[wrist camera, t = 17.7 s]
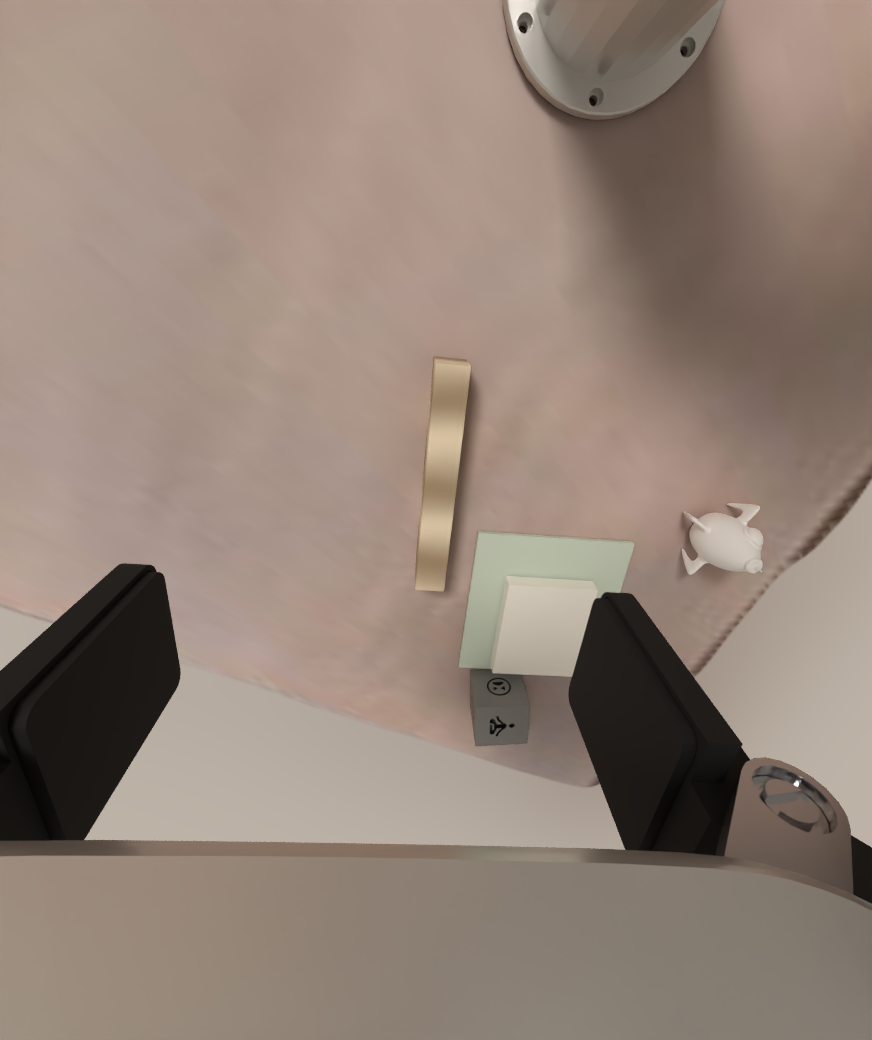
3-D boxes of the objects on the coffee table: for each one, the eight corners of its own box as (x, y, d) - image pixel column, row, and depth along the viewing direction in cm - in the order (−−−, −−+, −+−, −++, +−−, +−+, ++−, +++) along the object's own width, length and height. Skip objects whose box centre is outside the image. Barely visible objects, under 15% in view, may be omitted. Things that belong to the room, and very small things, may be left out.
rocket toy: (735, 491, 41) (805, 532, 34) (730, 546, 43) (794, 595, 36) (672, 503, 41) (728, 546, 34) (670, 557, 43) (722, 608, 36)
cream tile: (509, 584, 41) (492, 673, 45) (598, 590, 42) (573, 676, 46) (505, 574, 43) (489, 660, 47) (591, 579, 43) (568, 664, 48)
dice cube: (469, 669, 48) (475, 707, 43) (519, 666, 48) (530, 705, 44) (469, 705, 50) (475, 746, 46) (517, 703, 50) (527, 743, 46)
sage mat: (478, 530, 41) (478, 532, 41) (633, 541, 42) (635, 543, 42) (458, 664, 48) (458, 667, 47) (593, 670, 49) (595, 673, 48)
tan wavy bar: (433, 356, 35) (435, 362, 32) (465, 359, 35) (471, 366, 32) (415, 565, 43) (415, 589, 39) (441, 566, 43) (443, 591, 39)
